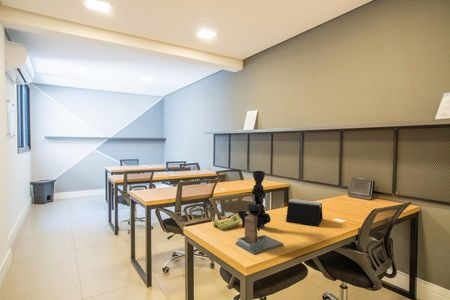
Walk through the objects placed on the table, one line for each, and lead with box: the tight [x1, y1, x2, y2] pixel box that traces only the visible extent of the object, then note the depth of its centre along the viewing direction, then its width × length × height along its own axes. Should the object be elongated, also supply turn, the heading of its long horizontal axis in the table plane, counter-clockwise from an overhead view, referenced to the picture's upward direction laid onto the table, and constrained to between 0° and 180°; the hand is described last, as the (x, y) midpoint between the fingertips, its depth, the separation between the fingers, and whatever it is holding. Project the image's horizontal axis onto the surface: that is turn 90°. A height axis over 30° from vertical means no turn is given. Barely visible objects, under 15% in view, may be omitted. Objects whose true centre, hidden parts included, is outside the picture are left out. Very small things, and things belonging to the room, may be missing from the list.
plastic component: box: [212, 212, 242, 231], centre depth 177 cm, size 20×7×10 cm
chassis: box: [235, 234, 284, 255], centre depth 144 cm, size 22×16×3 cm
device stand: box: [285, 198, 324, 228], centre depth 191 cm, size 22×22×15 cm
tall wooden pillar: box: [244, 215, 258, 244], centre depth 143 cm, size 6×6×15 cm
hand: (250, 229), depth 142 cm, fingers open, 9 cm apart
